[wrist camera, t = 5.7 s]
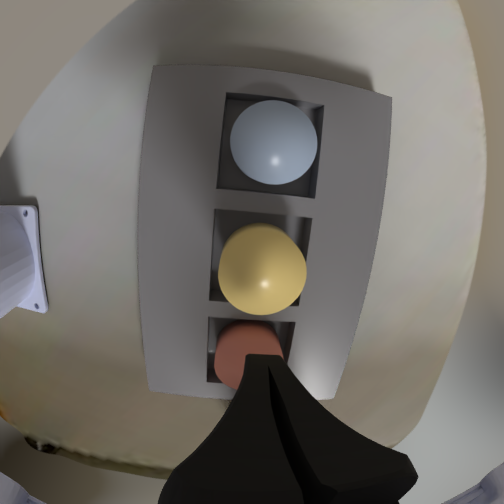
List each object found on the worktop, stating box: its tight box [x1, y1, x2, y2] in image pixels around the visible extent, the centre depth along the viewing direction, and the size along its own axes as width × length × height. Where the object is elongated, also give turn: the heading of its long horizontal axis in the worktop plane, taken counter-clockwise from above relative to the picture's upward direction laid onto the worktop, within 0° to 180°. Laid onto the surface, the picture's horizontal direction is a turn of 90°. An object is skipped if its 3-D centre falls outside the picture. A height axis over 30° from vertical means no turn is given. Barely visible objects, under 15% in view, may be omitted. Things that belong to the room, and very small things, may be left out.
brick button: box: [214, 319, 284, 390], centre depth 17 cm, size 4×4×2 cm
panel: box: [138, 65, 392, 400], centre depth 16 cm, size 13×20×2 cm, turn 174°
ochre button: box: [218, 223, 307, 315], centre depth 14 cm, size 4×4×2 cm
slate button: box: [230, 100, 317, 185], centre depth 13 cm, size 4×4×2 cm
